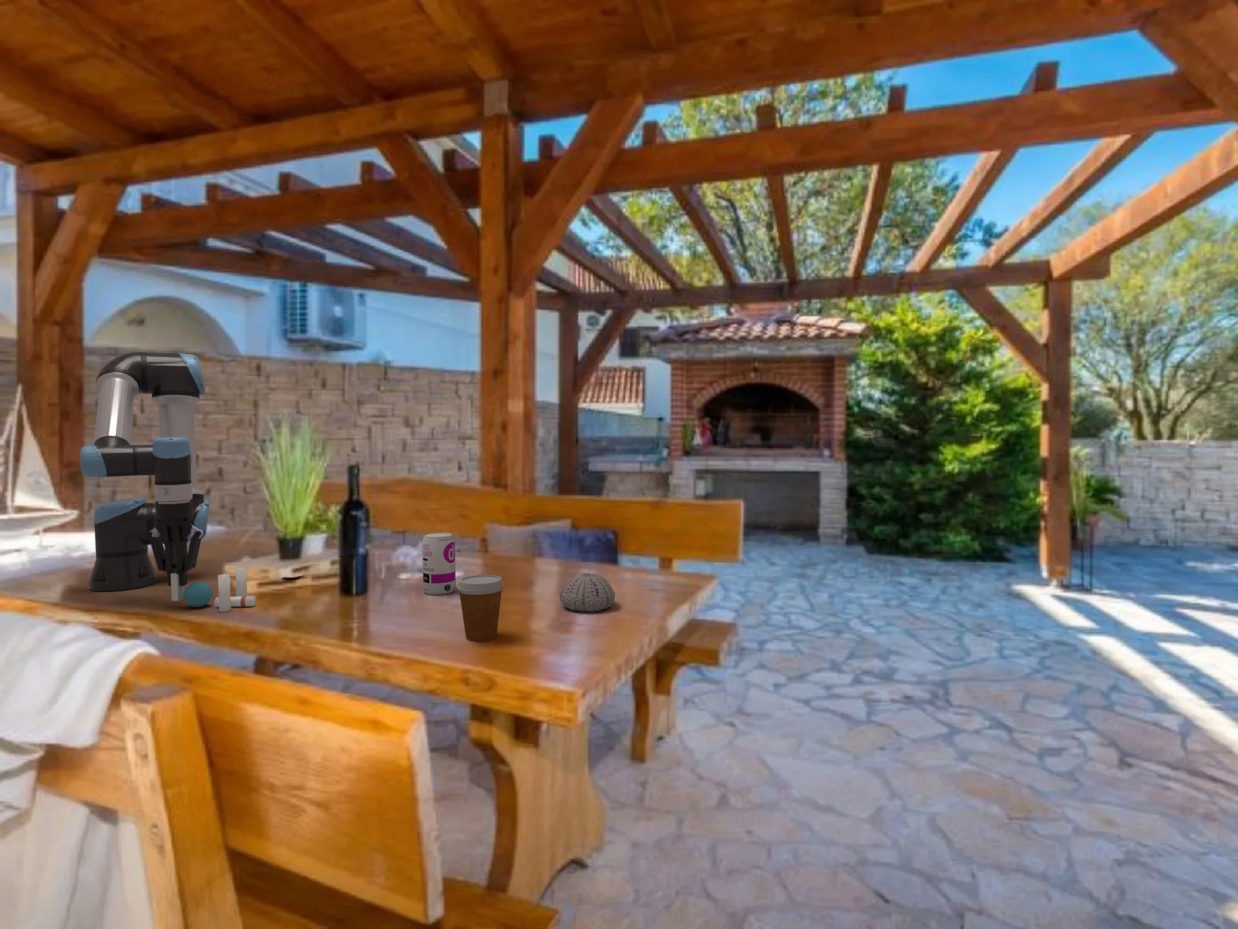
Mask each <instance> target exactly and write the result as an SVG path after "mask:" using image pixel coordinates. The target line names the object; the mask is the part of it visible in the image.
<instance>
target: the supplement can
mask: <svg viewBox="0 0 1238 929" xmlns="http://www.w3.org/2000/svg"><path fill="white" fill-rule="evenodd" d="M421 545H422V546H421V548H422V549H421V550H422V551H421V552H422V587H423V588H422V590H423V592H425V594H426V595H427V594H428V595H430V596H441V595H448V594H451V593H453V592H454V590H456V589H457V584H456V581H457V580H456V579H457V578H456V574H457V573H456V570H457V569H456V540H455V538H454V536H453V533H451V532H432V533H431V532H430V533H427V534H425V535H424V537H423V539H422V540H421Z"/></svg>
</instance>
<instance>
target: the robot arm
mask: <svg viewBox="0 0 1238 929" xmlns="http://www.w3.org/2000/svg"><path fill="white" fill-rule="evenodd" d="M94 384H95V390H96V393H97V394H98V402H97V408H96V418H95V427H94V428H95V429H94V435H93V436H94V437H93V443H92V445H91V444H90V445H85V446H82V447H81V449H80V452H79V462H80V470H81V473H82V475H83V476H84V477H87V478H113V477H114V478H115V477H118V478H119V477H131V476H132V477H134V476H137V477H138V476H140V477H141V476H142V477H143V476H154V478H153V479H154V500H155V502H148V501H147V500H146V498H145V497H138V498H128V499H120V500H117V501H116V500H115V501H111V502H106V503H103V504H100V505H98V506H96V507H95V509H94V510H93V522H92V523H93V524H92V525H93V526H94V541H95V542H94V546H95V548H94V549H95V562H94V565H93V568H92V571H91V574H90V576H89V580H88V587H89V588H88V589H89V590H91V591H94V592H113V591H114V592H117V591H125V590H126V589H127V590H133V589H139V588H144V587H147V586H151V585H153V584H156V583H157V582H158V574H157V571H156V569H155V566H154V564H153V562H152V560H151V558H150V556H149V546H150V547H151V550H152V553H153V557H154V560H155V564H156V567H157V570H158V571H159V572H165V573H166V576H167V577H166V578H167V586H168V587H170V588H171V589H170V590H171V593H170V594H171V602H172V601H173V602H174V601H175V602H177V601H180V600H184V598H183V594H184V591H185V586H187V584H188V571H190V570H193V569H195V568H196V567H197V566H196V565H197V561H198V556H199V552H200V547H201V542H202V540H204V539H205V538H206V536H207V532H208V530H207V529H208V522H209V513H210V511H209V510H210V505H211V504H210V501H211V500H210V499H206V498H204V497H205V495H204V494H205V493H204V492H202V491H201V490H200V489H199V488H198V480H197V479H198V474H197V470H198V469H197V452H196V446H197V445H196V429H195V428H196V425H195V424H196V423H195V405H197V404H198V403H200V398H201V397H200V396H203V395H205V394H206V389H205V383H204V378H203V371H202V366H201V363H200V359H199V358H198V356H196V355H194V354H189V353H181V352H178V353H177V352H175V353H174V352H150V351H149V352H147V351H146V352H144V351H130V352H126V353H122V354H120V355H118V356H116V357H114V358H112V359H111V360H109V361H108V362H107V363H105V365H104V366H103V367H101V369H100V370H99V372H98V374H97V376H96V379H95V383H94ZM139 394H149V395H150V394H151V401H152V402H153V403H155V404H156V405H157V406H158V427H159V428H158V430H159V431H158V432H159V434H158V435H159V437H155V438H154V439H153V441H152V444H132V436H133V435H132V434H133V420H134V405H135V399H136V398H137V396H138V395H139ZM188 543H189V545H188ZM143 586H144V587H143ZM138 587H139V588H138Z"/></svg>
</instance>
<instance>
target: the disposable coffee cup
mask: <svg viewBox="0 0 1238 929" xmlns="http://www.w3.org/2000/svg"><path fill="white" fill-rule="evenodd" d="M504 586H505V584H504V582H503V578H502V577H501V576H499V575H494V574H475V575H469V576H468V575H467V576H464V577H461V578H460V579H458V584H456V589H457V591H458V592H459V599H460V606H461V612H462V613H461V614H462V620H463V627H464V634H465V638H466V639H467V640H468V641H471V642H485V641H492V640H493V639H495V638H496V637H497V636H498V629H499V628H498V627H499V618H500V609H501V601H502V600H501V599H502V591H503V589H504Z"/></svg>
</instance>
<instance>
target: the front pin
mask: <svg viewBox="0 0 1238 929" xmlns="http://www.w3.org/2000/svg"><path fill="white" fill-rule="evenodd" d="M230 599H231V608H234V607H235V608H236V607H237V608H238V607H242V608H245V607H255V606H256V602H257V599H256V596H255V595H247V596H238V597H236V596H230ZM214 607H215V608H219V596H216V597H215V599H214Z"/></svg>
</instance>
